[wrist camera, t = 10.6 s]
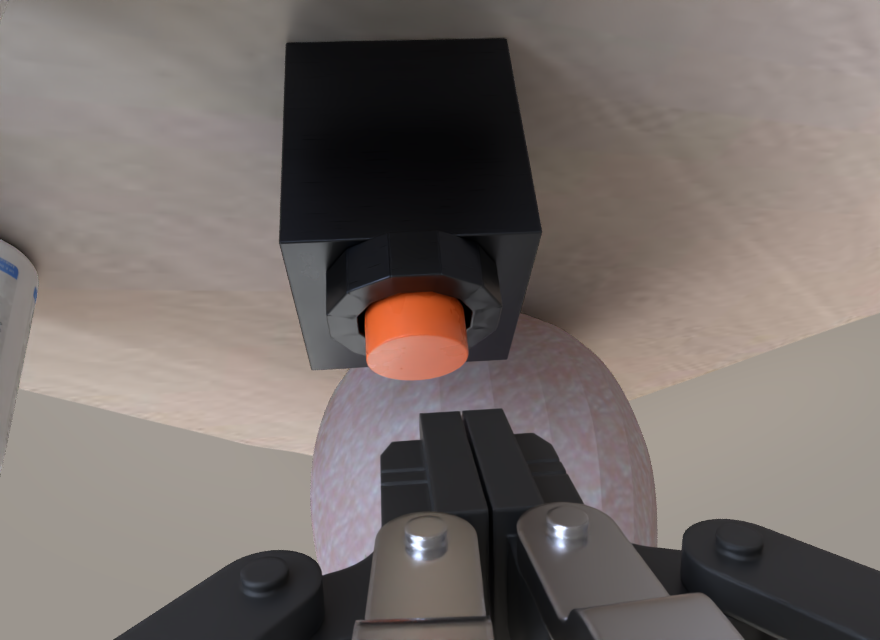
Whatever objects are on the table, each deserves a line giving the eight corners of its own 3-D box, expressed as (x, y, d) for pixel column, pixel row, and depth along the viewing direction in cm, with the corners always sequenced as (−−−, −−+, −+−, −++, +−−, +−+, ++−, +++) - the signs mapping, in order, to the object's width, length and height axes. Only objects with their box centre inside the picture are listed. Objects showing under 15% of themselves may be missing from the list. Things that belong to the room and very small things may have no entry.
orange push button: (366, 339, 31) (368, 383, 30) (362, 290, 28) (363, 337, 27) (460, 334, 31) (465, 378, 30) (467, 285, 28) (472, 332, 27)
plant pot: (617, 370, 67) (702, 751, 52) (366, 412, 70) (378, 778, 56) (611, 216, 46) (748, 776, 31) (256, 287, 50) (229, 816, 35)
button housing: (312, 199, 42) (311, 407, 36) (284, 33, 32) (275, 281, 26) (484, 192, 43) (512, 396, 37) (507, 29, 33) (553, 269, 27)
